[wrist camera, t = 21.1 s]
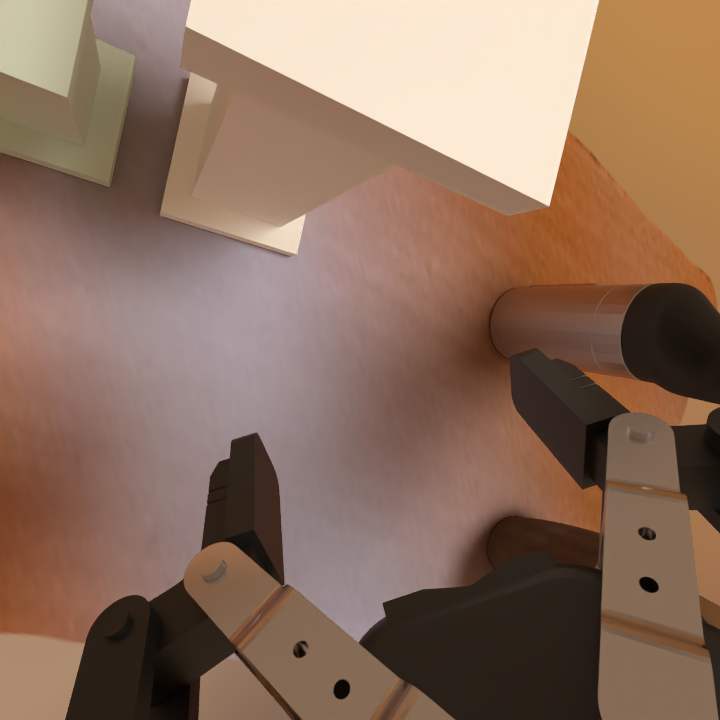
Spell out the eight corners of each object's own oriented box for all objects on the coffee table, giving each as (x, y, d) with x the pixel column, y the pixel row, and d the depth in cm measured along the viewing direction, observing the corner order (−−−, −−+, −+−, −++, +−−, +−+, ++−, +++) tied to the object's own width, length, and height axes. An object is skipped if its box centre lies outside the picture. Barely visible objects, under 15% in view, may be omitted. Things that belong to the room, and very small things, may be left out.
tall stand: (288, 266, 44) (549, 206, 16) (157, 226, 39) (185, 26, 10) (320, 125, 44) (647, -202, 15) (192, 66, 39) (323, -609, 10)
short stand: (107, 199, 37) (67, 97, 18) (-47, 151, 33) (-311, -48, 14) (138, 55, 37) (129, -200, 18) (-14, -13, 32) (-236, -445, 14)
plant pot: (533, 469, 62) (649, 520, 48) (557, 552, 67) (669, 621, 52) (451, 529, 57) (552, 606, 43) (482, 614, 62) (584, 710, 47)
